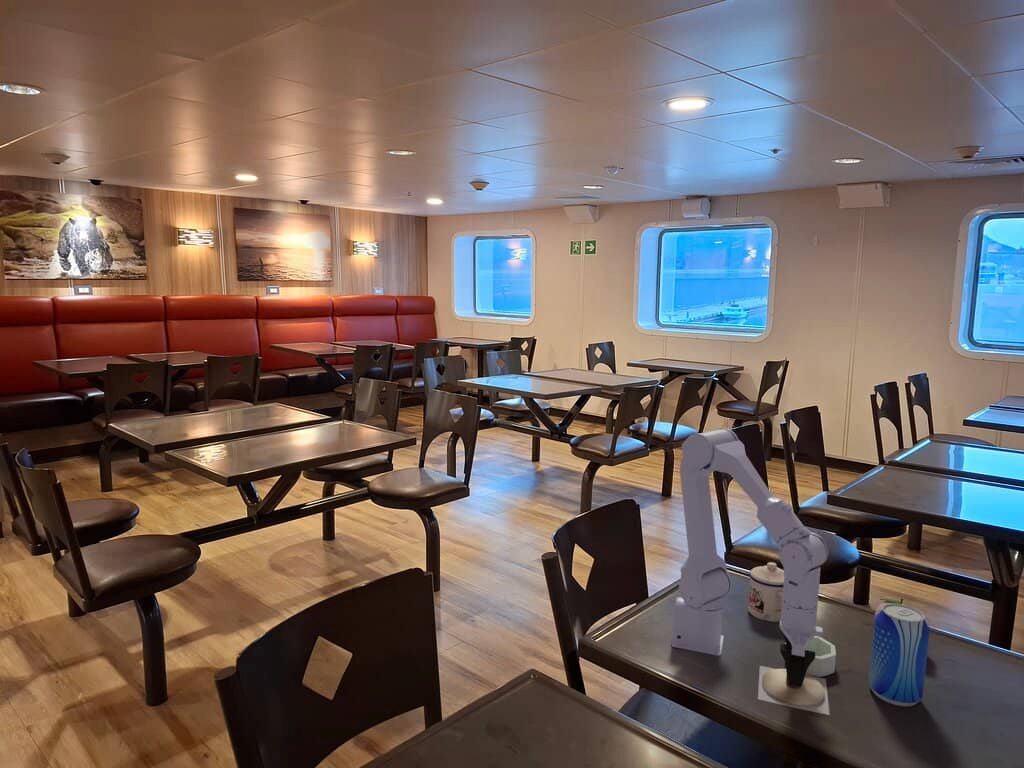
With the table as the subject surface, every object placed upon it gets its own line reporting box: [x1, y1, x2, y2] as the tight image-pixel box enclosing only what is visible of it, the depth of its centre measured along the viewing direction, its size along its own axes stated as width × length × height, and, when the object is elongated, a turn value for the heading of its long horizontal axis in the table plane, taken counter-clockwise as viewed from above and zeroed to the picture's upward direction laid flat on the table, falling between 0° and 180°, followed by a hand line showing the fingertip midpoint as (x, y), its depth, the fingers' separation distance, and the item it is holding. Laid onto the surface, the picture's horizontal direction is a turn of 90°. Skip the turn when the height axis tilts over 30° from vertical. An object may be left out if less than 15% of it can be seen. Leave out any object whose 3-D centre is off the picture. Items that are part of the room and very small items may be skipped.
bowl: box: [783, 635, 837, 678], centre depth 132 cm, size 9×9×4 cm
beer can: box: [868, 603, 931, 707], centre depth 122 cm, size 8×8×16 cm
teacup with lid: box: [747, 562, 784, 623], centre depth 151 cm, size 12×9×12 cm
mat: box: [757, 665, 831, 716], centre depth 124 cm, size 12×12×1 cm
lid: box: [762, 668, 825, 707], centre depth 124 cm, size 10×10×5 cm
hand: (794, 673), depth 123 cm, fingers open, 7 cm apart
